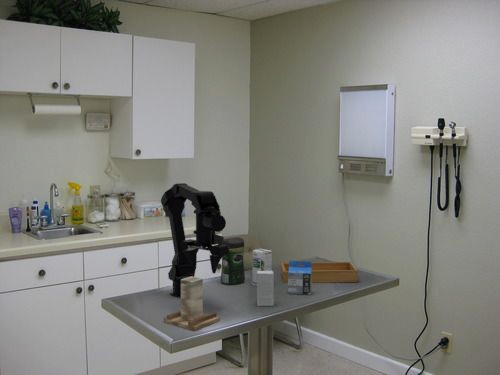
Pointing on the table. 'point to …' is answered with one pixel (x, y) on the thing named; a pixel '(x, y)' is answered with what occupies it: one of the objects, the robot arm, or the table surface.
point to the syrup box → (261, 262)
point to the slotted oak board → (192, 321)
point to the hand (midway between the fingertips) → (204, 271)
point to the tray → (327, 272)
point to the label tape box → (299, 277)
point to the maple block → (191, 298)
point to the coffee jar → (233, 262)
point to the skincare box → (265, 288)
